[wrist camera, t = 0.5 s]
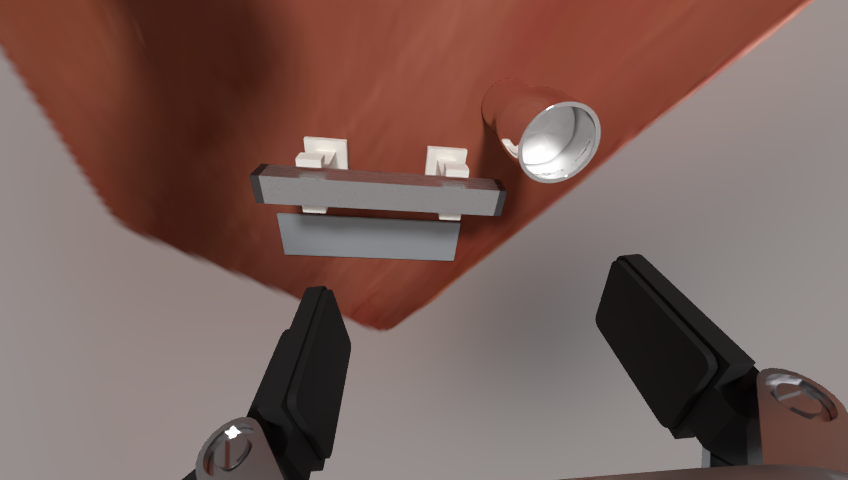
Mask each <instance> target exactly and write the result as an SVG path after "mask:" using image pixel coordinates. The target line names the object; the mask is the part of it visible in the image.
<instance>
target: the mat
mask: <svg viewBox="0 0 848 480" xmlns="http://www.w3.org/2000/svg"><path fill="white" fill-rule="evenodd" d="M277 217H278V222H279V227H280V232H281V237H282V242H283V247H284V252H285V254H287V255H313V256H339V257H365V258H391V259H417V260H443V261H454V256H455V250H456V245H457V240H458V234H459V229H460V222H444V221H424V220H405V219H386V218H366V217H347V216H327V215H308V214H289V213H278V214H277Z"/></svg>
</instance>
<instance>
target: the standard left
mask: <svg viewBox="0 0 848 480" xmlns="http://www.w3.org/2000/svg"><path fill="white" fill-rule="evenodd" d="M304 146H305V153H301V152H300V153H299V155H298V156H297V157H296V158H295V160H296V166H297V167H312V168H333V169H348V147H347V140H345V139H332V138H319V137H306V136H305V137H304ZM348 170H349V169H348ZM302 208H303V212H310V213H326V211H327V209H328V207H322V206H304V205H302Z"/></svg>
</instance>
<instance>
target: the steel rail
mask: <svg viewBox="0 0 848 480" xmlns="http://www.w3.org/2000/svg"><path fill="white" fill-rule="evenodd" d="M250 178H251V183H252V187H253V191H254V195H255V200H256V203H267V204H286V205H304V206H322V207H341V208H359V209H378V210H396V211H414V212H433V213H451V214H469V215H488V216H501V213H502V209H503V205H504V202H505V198H506V194H507V190H506V189H505V187H504V185H503V184H502V182H501V181H500V180H497V179H482V178H462V177H447V176H437V175H423V174H408V173H393V172H378V171H363V170H348V169H333V168H312V167H297V166H288V165H273V164H261V165H260V166H259V167H258V168H256V169H255V170H254V171H253V172H252V173H251V174H250Z"/></svg>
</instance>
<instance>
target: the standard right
mask: <svg viewBox="0 0 848 480" xmlns="http://www.w3.org/2000/svg"><path fill="white" fill-rule="evenodd" d="M466 156H467V149H462V148H449V147H436V146H428V147H427V157H426V166H425V175H437V176H447V177H462V178H468V175H469V169H468V167H467V165H466V164H465V161H466ZM438 215H439V219H444V220H460V218H461V214H451V213H438Z"/></svg>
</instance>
